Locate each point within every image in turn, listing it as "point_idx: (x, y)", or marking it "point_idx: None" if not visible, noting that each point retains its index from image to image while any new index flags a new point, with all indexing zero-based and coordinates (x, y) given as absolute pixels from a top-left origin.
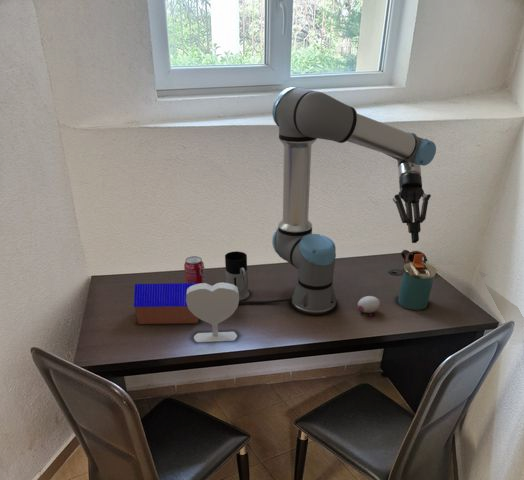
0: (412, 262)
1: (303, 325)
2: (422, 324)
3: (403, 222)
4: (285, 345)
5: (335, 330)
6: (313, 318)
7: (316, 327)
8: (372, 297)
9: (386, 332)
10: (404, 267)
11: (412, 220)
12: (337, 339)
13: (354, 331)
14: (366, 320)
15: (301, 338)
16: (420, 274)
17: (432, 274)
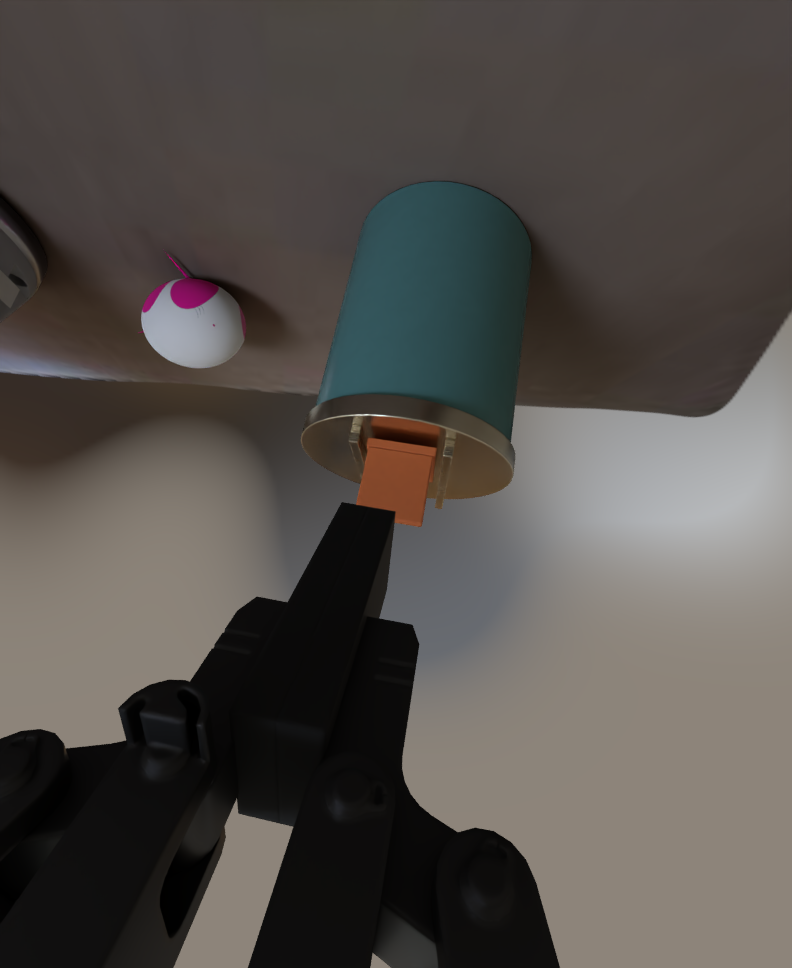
0: (377, 419)
1: (10, 320)
2: None
3: (35, 749)
4: (35, 373)
5: (130, 354)
6: None
7: (61, 334)
8: (194, 362)
9: (292, 386)
10: (306, 440)
11: (214, 844)
12: (155, 381)
13: None
14: None
15: (54, 362)
16: None
17: (454, 497)
